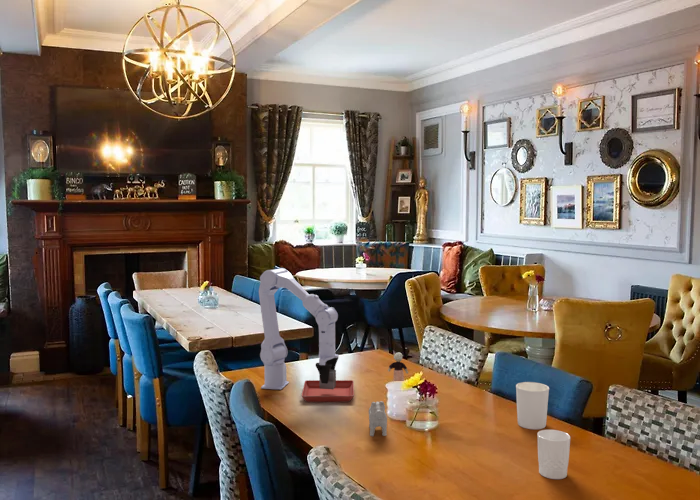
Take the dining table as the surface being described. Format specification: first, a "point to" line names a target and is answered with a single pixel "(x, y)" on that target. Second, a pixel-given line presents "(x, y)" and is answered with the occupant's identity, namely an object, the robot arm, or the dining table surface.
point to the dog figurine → (377, 417)
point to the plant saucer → (328, 391)
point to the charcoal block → (329, 381)
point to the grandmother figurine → (398, 367)
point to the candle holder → (532, 404)
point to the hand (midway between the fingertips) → (327, 380)
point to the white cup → (553, 453)
